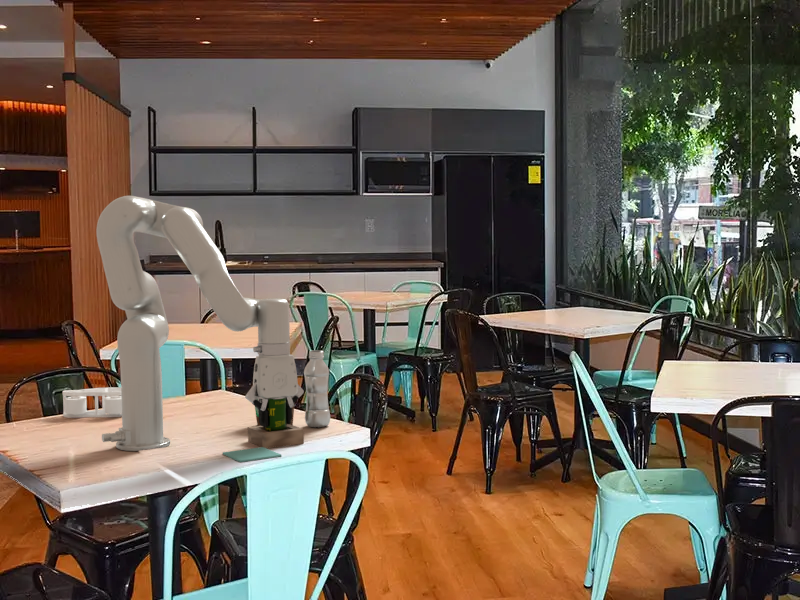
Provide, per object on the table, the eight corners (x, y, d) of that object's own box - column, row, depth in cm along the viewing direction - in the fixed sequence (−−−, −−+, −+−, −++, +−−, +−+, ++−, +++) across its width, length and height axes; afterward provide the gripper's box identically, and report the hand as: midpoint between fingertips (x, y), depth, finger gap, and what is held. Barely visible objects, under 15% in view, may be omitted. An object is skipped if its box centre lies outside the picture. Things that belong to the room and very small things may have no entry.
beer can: (275, 439, 236) (274, 390, 235) (291, 441, 233) (290, 392, 232) (259, 443, 231) (259, 393, 230) (276, 445, 228) (275, 395, 227)
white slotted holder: (56, 420, 265) (55, 393, 264) (71, 413, 276) (70, 387, 275) (128, 419, 265) (128, 393, 264) (140, 412, 276) (139, 387, 275)
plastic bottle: (334, 427, 249) (333, 351, 248) (310, 430, 246) (309, 353, 245) (324, 423, 255) (323, 349, 254) (300, 426, 252) (299, 350, 250)
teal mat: (240, 462, 211) (240, 460, 211) (222, 454, 220) (222, 452, 220) (281, 456, 217) (281, 454, 217) (262, 448, 225) (262, 446, 225)
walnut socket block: (265, 448, 225) (265, 433, 225) (248, 441, 233) (247, 427, 233) (303, 443, 230) (303, 429, 230) (285, 436, 239) (285, 422, 238)
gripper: (247, 354, 223) (249, 431, 224) (313, 349, 232) (314, 423, 233) (234, 351, 229) (236, 426, 230) (299, 346, 238) (300, 418, 239)
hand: (275, 424), depth 232 cm, fingers closed on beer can, 5 cm apart
